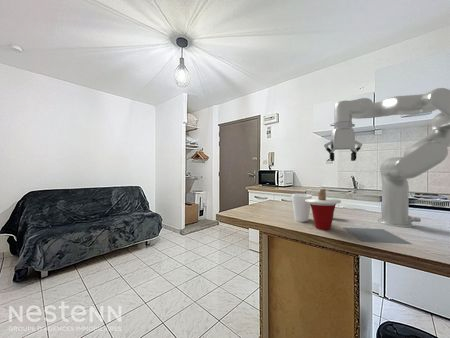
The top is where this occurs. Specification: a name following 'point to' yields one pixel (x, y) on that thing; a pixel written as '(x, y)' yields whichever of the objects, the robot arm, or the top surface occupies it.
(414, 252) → the top surface
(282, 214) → the top surface
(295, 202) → the foam cup
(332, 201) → the lid
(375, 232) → the mat
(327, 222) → the plastic cup
